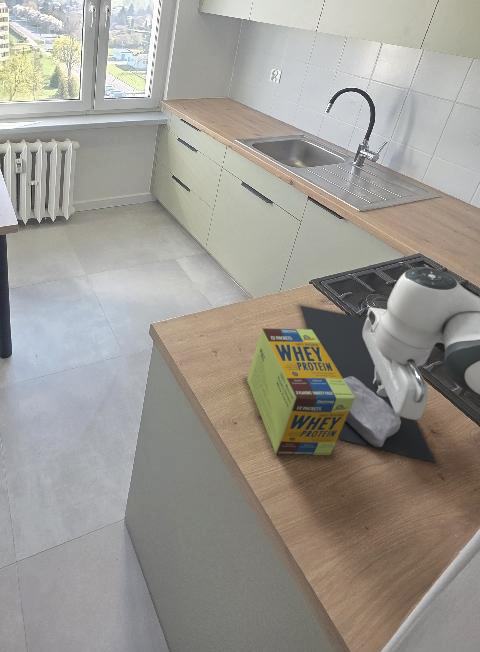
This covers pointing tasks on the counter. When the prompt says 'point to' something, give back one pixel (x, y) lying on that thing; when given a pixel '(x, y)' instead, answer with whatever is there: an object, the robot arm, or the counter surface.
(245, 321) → the counter surface
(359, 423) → the stone block
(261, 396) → the protein box
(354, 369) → the mat
